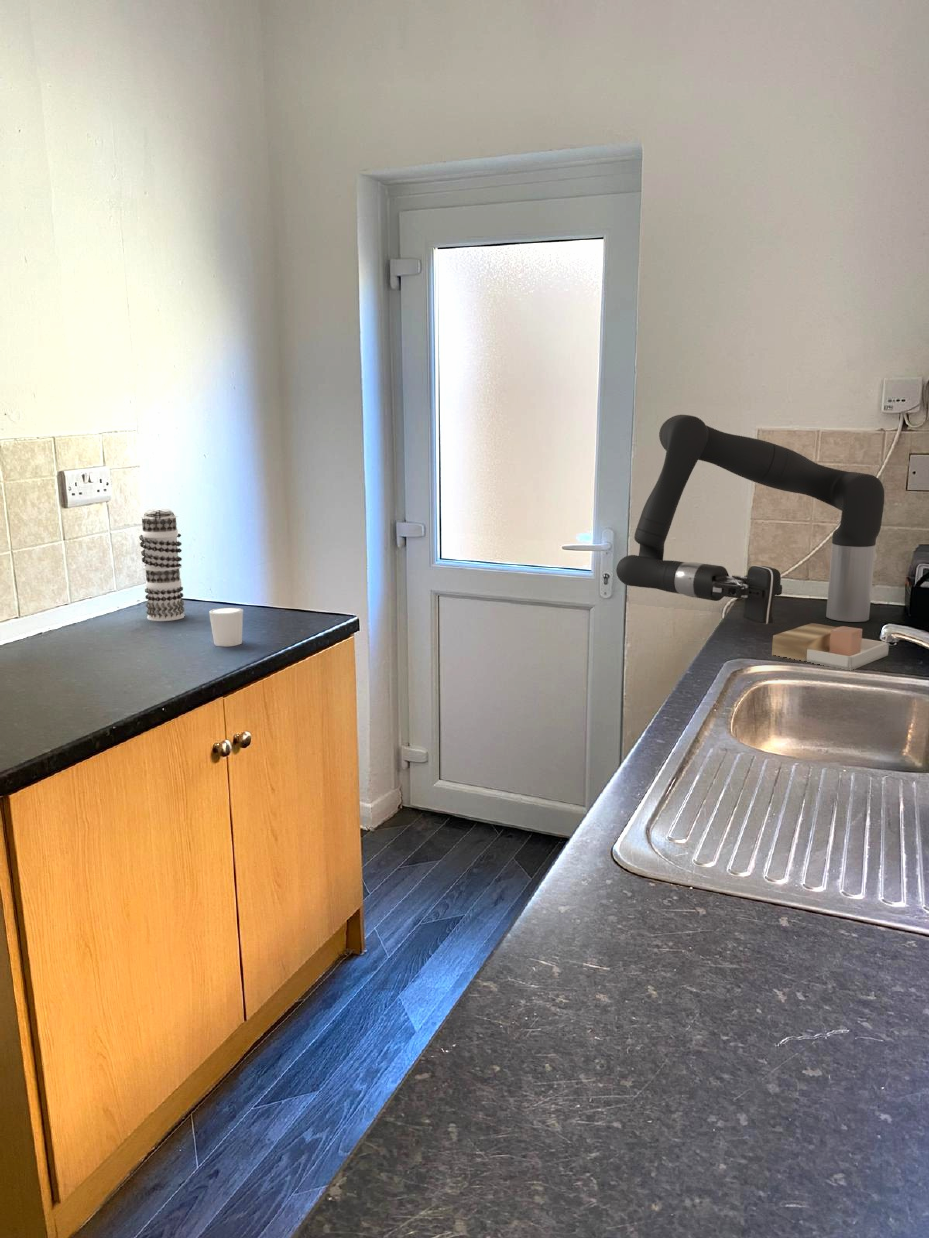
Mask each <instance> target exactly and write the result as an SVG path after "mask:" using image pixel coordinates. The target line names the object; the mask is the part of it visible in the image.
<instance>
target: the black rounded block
mask: <svg viewBox="0 0 929 1238" xmlns="http://www.w3.org/2000/svg"><path fill="white" fill-rule="evenodd" d="M746 576H747V582H746V584H747V585H749V588H750V586H756V587H762V588H767V589H768V597H767V598H766V599H759V598H753V597H747V598H744V608H743V609H744V610H743V618H744V619H747V620H749V621H752V622H754V623H755V622H756V623H757V624H758V623H759V624H762V625H768V624H773V623H774V618H773V612H772V610H773V602H774V599H775V597H776V595H775V594H779V592H780V585H781V581H782V580H781V579H782V575H781V572H780V571H779V570H778V569H777V568H773V567H771V566H765V565H757V564H755V565H752V566H750V567H749V568H748V570H747V575H746Z"/></svg>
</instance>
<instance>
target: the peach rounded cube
mask: <svg viewBox="0 0 929 1238" xmlns="http://www.w3.org/2000/svg"><path fill="white" fill-rule="evenodd" d="M837 627H838V628H835V629H833V630H831V638H830V651H829V653H833V654H839V655H844V656H852V655H855V654H857V653H860V651H861V640H862V638H863V628H858V627H852V626H851V627H850V626H845V625H841V626H837Z"/></svg>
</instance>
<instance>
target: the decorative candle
mask: <svg viewBox="0 0 929 1238" xmlns="http://www.w3.org/2000/svg"><path fill="white" fill-rule="evenodd" d="M177 518H178V516H177V515H175V514H174V512H173V510H171V509H164V508H162V509H160V508H159V509H148V510H146V511H145V512H144V515H143V516H140V519H141V526H142V531H141V534H140V535H139V536H138V537H139V540H140V541H141V542H139V547H141V548H142V549H143V550H142V551H141V552H140V553H141V556H142V558H141V562H142V563H144V564H145V565H144V566H142V567H143V570H144V571H145V578H146V579H145V587H146V588H145V589H144V593H146V595H145V599H146V600H147V602H146V603H145V607H146V608H147V609H146V611H145V612H146V614H147V618H146V619H147V621H148V620H149V621H152V622H169V621H175V620H176V621H177V620H180V619H183V618H185V617H184V616H185V614H184V612H185V607H184V605H185V601H184V600H183V599H182V598H183V597H184V593H183V590H184V587H183V586H182V579H181V571H180V568H182V564H181V563H180V562H181V561H182V560H183V558H182V557H180V556H179V554H180V553H182V549H181V548H179V547H180V546H182V544H183V543H182V542H181V541H178V538H180V537H181V536H182V534H181V533H179V529H178V528H177Z"/></svg>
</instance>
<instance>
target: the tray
mask: <svg viewBox="0 0 929 1238" xmlns="http://www.w3.org/2000/svg"><path fill="white" fill-rule="evenodd" d="M889 647H890V642H888V641H887V642H886V641H879V640H875V639H874V640H873V639H869V638H863V637H862V640H861V651H860V653H857V654H855V655H852V656H844V655H839V654H833V653H829V651H827V652H822V651H817V650H811V649H807V659H806V661H807V662H811V663H810V664H812V663H814V664H813V665H817V664H820V665H819V666H823V665H824V666H823V667H828V666H829V668H833V667H836V668H835V669H838V668H841V669H840V670H843V669H845V670H844V671H849V670H850V672H851V671H853V669H854V670H855V669H858V668H860V667H863V666H865V665H867V664H870V663H872V662H875V661H877V660H879V659H882V658H885V657H887V656H889V649H890V648H889ZM807 662H806V663H807Z"/></svg>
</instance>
